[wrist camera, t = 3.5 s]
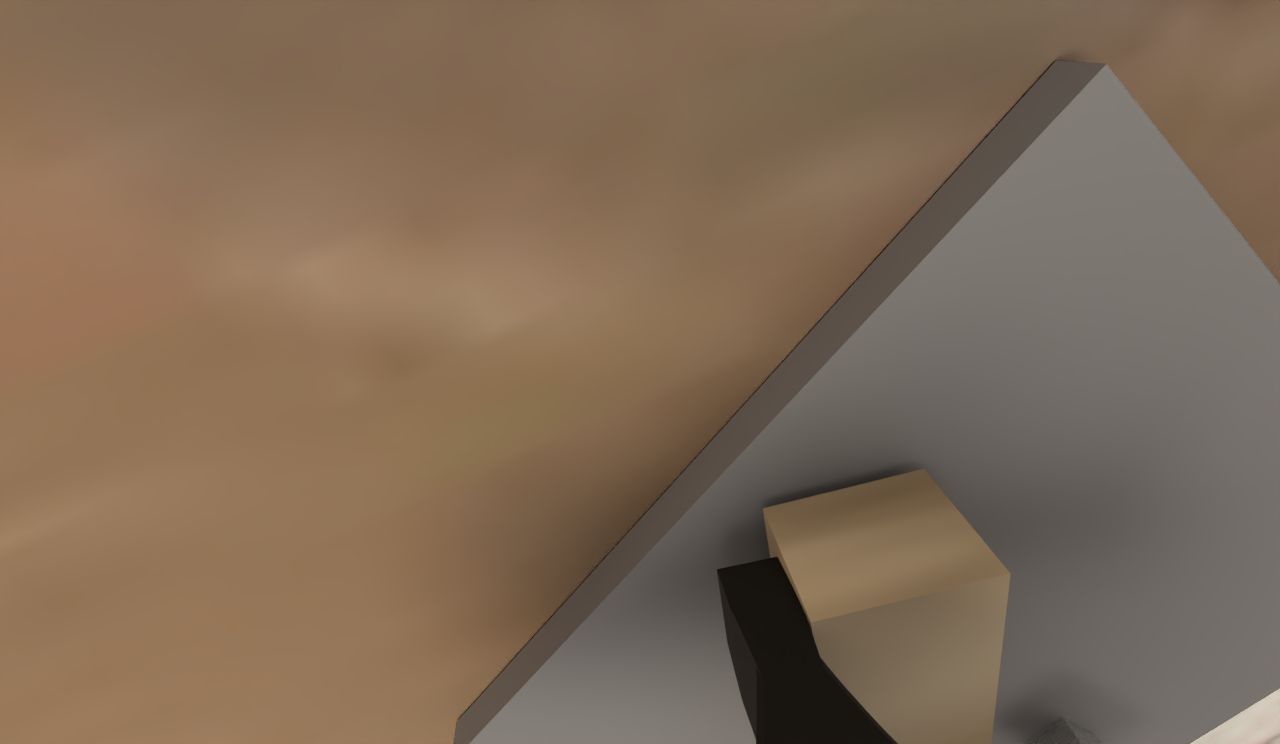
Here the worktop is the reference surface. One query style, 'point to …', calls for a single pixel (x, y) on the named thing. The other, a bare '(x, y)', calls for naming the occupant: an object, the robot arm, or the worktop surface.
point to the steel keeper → (1063, 734)
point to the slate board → (990, 453)
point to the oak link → (900, 603)
